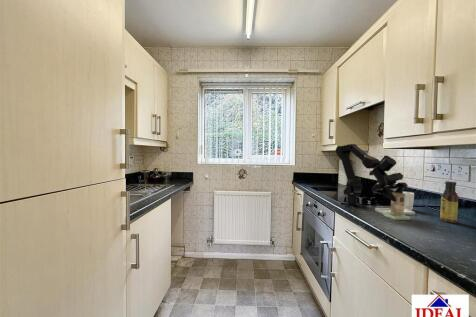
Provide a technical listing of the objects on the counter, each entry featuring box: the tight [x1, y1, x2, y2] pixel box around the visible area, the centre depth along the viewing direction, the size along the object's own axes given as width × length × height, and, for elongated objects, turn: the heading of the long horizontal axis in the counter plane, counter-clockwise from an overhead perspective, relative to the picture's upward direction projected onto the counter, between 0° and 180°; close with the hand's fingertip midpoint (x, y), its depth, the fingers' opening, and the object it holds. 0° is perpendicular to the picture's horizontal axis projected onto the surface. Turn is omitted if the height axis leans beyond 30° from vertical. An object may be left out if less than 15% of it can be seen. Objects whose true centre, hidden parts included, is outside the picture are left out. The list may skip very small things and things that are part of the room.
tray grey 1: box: [374, 207, 390, 215], centre depth 131 cm, size 8×8×2 cm
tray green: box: [383, 213, 411, 221], centre depth 121 cm, size 8×8×2 cm
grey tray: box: [389, 207, 416, 216], centre depth 132 cm, size 8×8×2 cm
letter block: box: [389, 191, 405, 217], centre depth 121 cm, size 4×4×12 cm
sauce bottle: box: [439, 180, 459, 224], centre depth 116 cm, size 6×6×20 cm
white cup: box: [403, 191, 415, 211], centre depth 140 cm, size 8×8×10 cm
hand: (399, 201), depth 119 cm, fingers open, 5 cm apart
